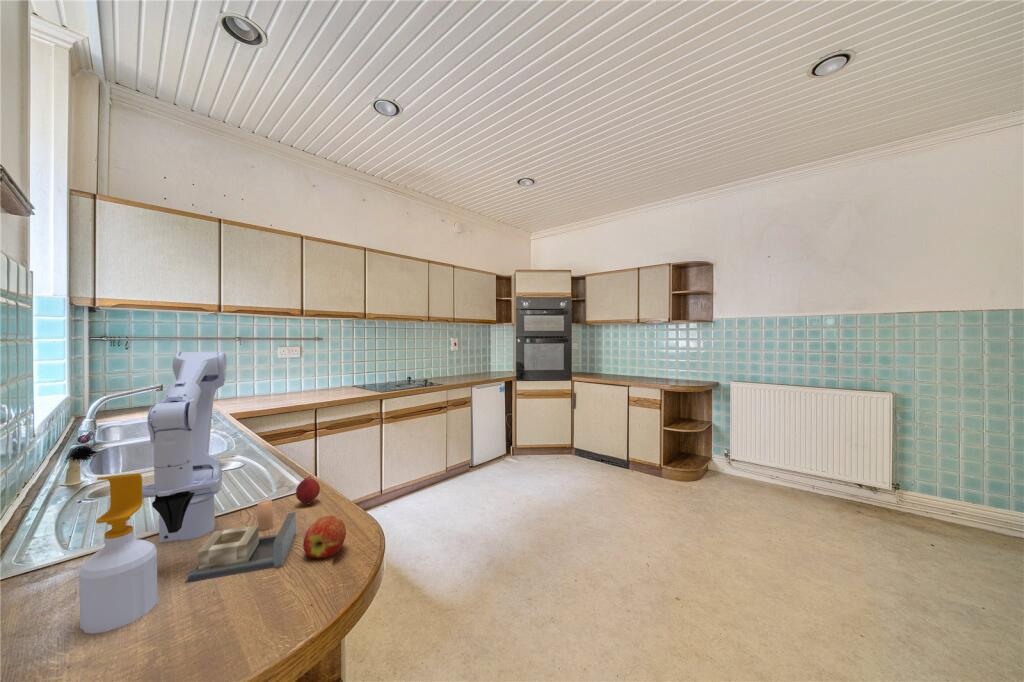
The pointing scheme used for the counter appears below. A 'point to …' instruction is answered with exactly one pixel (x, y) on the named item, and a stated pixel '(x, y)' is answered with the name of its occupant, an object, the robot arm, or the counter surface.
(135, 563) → the soap bottle
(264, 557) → the slide base
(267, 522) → the dowel
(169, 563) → the counter surface
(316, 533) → the apple
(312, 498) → the onion
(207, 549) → the sliding block
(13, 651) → the counter surface
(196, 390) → the robot arm
